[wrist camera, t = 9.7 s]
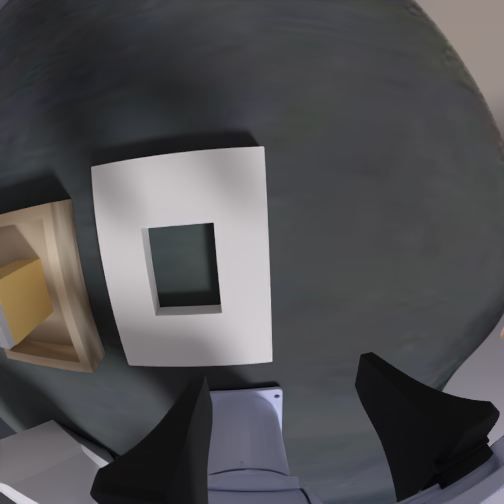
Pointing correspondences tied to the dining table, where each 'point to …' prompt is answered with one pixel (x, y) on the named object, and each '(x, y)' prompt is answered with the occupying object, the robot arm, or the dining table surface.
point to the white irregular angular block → (49, 466)
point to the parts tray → (53, 287)
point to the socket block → (227, 251)
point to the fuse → (22, 300)
